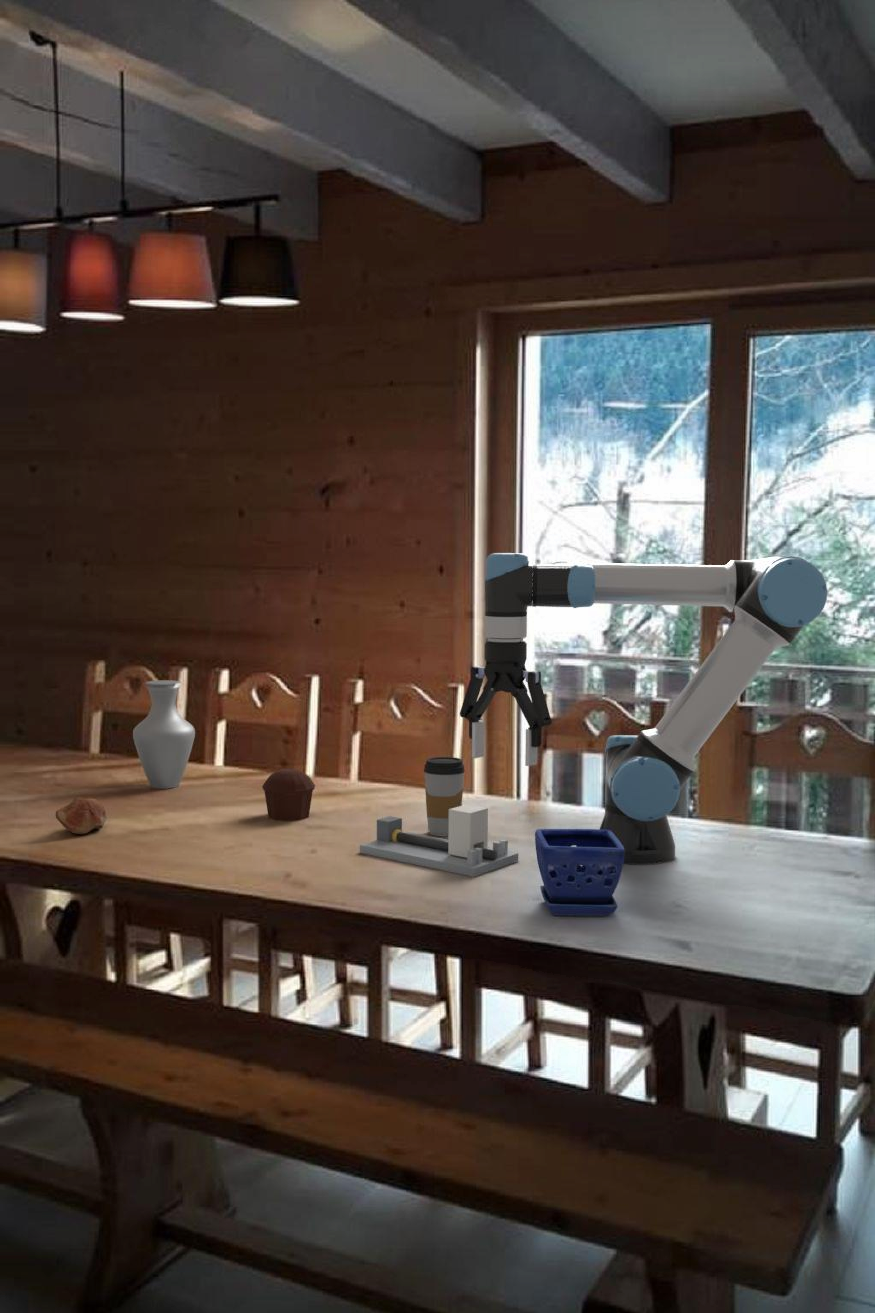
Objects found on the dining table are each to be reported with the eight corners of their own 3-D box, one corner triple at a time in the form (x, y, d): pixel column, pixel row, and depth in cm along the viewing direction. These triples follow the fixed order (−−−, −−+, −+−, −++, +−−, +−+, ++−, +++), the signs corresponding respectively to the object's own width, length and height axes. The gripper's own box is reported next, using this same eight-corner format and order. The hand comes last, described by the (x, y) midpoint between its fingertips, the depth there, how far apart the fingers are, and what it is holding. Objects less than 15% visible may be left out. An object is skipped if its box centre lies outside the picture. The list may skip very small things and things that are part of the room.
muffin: (321, 820, 276) (321, 773, 275) (270, 824, 272) (270, 776, 271) (306, 808, 287) (306, 763, 286) (256, 812, 283) (256, 766, 282)
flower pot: (610, 897, 220) (612, 827, 219) (624, 920, 207) (626, 847, 206) (532, 897, 220) (533, 827, 219) (541, 921, 207) (542, 847, 205)
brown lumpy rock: (60, 824, 255) (64, 777, 260) (38, 837, 260) (42, 791, 265) (116, 838, 263) (119, 793, 268) (94, 851, 268) (97, 806, 273)
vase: (131, 782, 315) (129, 679, 312) (191, 779, 319) (190, 677, 317) (136, 793, 301) (134, 686, 299) (199, 790, 305) (198, 684, 303)
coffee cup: (460, 838, 260) (460, 764, 259) (419, 836, 262) (419, 762, 260) (467, 829, 268) (468, 757, 267) (427, 827, 270) (428, 755, 269)
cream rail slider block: (487, 852, 242) (487, 808, 241) (470, 858, 238) (470, 813, 237) (465, 848, 245) (466, 804, 244) (448, 854, 241) (448, 809, 240)
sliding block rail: (518, 861, 243) (518, 832, 243) (473, 876, 232) (473, 846, 232) (406, 839, 260) (406, 811, 259) (359, 852, 249) (359, 824, 248)
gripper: (572, 642, 228) (570, 765, 230) (465, 634, 243) (464, 751, 245) (549, 645, 222) (547, 771, 225) (440, 637, 237) (440, 756, 239)
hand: (504, 761), depth 235 cm, fingers open, 11 cm apart
